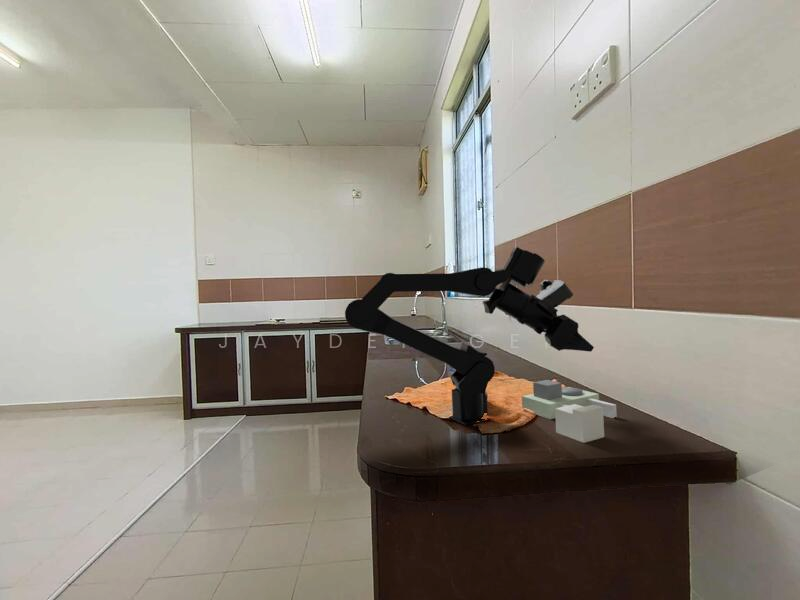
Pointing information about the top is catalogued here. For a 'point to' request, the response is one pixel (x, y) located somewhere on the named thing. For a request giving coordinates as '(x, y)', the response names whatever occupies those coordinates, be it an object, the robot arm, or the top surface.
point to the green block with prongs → (562, 399)
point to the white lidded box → (580, 422)
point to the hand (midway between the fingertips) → (583, 342)
